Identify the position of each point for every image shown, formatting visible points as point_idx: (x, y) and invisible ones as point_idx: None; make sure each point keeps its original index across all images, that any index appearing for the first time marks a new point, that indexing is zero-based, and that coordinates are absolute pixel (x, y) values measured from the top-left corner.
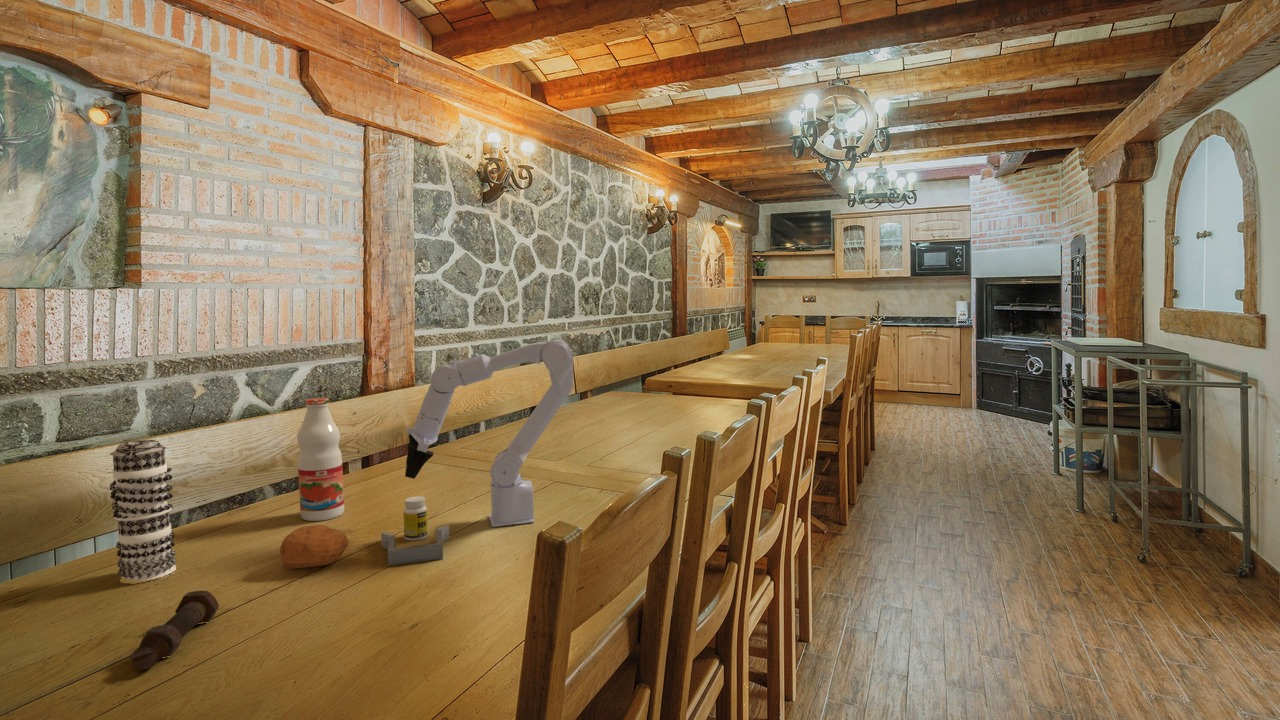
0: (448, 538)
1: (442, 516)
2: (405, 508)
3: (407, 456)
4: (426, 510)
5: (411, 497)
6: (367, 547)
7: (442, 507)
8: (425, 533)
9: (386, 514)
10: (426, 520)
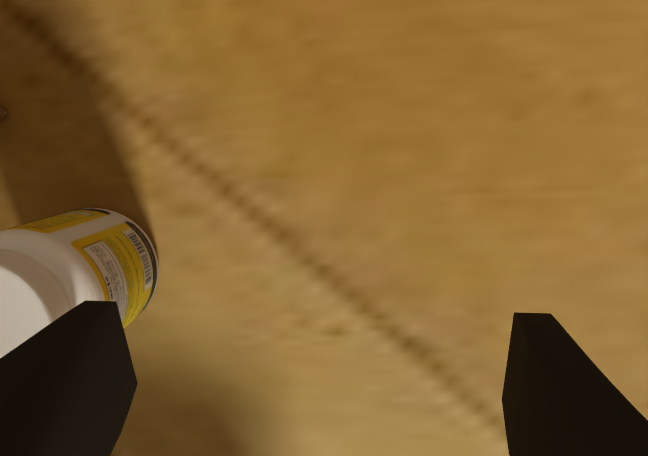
0: None
1: (415, 409)
2: (8, 246)
3: (551, 380)
4: None
5: (29, 307)
6: (13, 15)
7: None
8: None
9: (587, 82)
10: None
